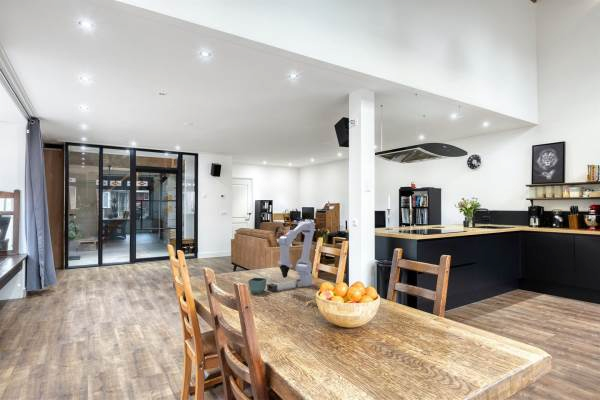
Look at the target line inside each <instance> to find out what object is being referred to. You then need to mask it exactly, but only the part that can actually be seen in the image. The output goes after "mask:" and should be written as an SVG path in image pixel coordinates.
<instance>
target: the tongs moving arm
mask: <svg viewBox="0 0 600 400" xmlns="http://www.w3.org/2000/svg"><path fill="white" fill-rule="evenodd" d="M295 288H296V287H295V282H294V281H293V282H289V283H283V284H277V285H270V291H269V292H271V293H273V292H279V291H284V290H290V289H291V290H292V289H295Z"/></svg>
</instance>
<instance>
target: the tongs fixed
mask: <svg viewBox="0 0 600 400" xmlns="http://www.w3.org/2000/svg"><path fill="white" fill-rule="evenodd" d="M289 282H295V288H301V287H302V288H303V287H304V286H303V281H300V279H298V278H297V279H293V281H292V280H290V281H282V282H274V283H268V284H267V283H266V291H268V292H271V291H270V285H277V284H283V283H289Z"/></svg>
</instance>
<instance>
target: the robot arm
mask: <svg viewBox="0 0 600 400" xmlns="http://www.w3.org/2000/svg"><path fill="white" fill-rule="evenodd" d="M315 229H316V224H315V222H313V221H303V220H301V221H299V222H298V223H297V226H296V227H295V228H294V229H290V230H288V231H287V233H285V234H284V235H282V236H280V237H279V238H278V241H277V243H278V246H279V248H280V249H279V250H280V251H279V252H280V253H279V254H280V255H279V256H280V257H279V259H280V260H278V261H277V265H279V269H280V271H281V274H282V278H285V279H286V278H287V277H288V274H289V271H290V268H293V264H292V263H291V262H290V246H291V244H292V242H293V240H295V239H296V238H297V237H298V236H297V235H298V234H299V233H302V234H303V235H304V239H303V246H302V251H301V257H300V259H298V260H297V261H296V264H295V271H296V272H297V279H300V281H303V287H308V286H313V284H314V281H313V280H314V279H313V274H312V273H311V272H312V270H313V269H312V268H313V267H312V264H313V263H312V262H311V260H310V254H311V249H312V248H311V247H312V243H313V237H314V235H315V234H314V233H315Z"/></svg>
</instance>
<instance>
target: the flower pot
mask: <svg viewBox="0 0 600 400" xmlns="http://www.w3.org/2000/svg"><path fill="white" fill-rule="evenodd" d="M248 287H249V291H250V293H251V294H262V293H263V292H264V291H265V289H266V288H267V278H265V277H253V278H250V279H249V280H248Z"/></svg>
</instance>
